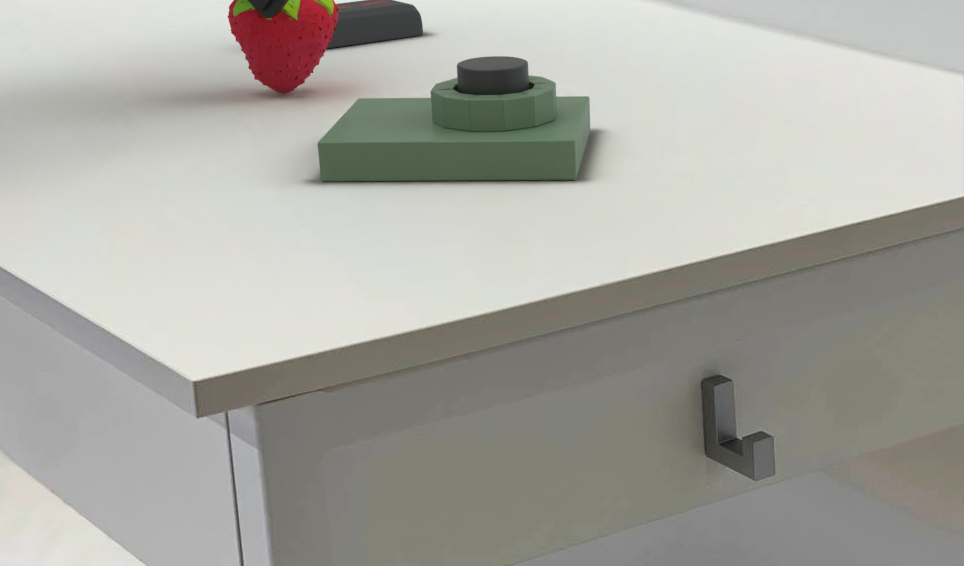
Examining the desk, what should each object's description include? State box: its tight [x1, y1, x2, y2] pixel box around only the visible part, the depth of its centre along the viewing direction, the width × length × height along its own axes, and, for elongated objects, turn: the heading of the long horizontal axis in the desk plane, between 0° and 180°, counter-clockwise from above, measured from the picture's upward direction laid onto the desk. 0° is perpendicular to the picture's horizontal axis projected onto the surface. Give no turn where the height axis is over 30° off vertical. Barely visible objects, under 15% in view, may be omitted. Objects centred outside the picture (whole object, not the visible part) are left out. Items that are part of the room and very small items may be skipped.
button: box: [456, 55, 529, 95], centre depth 91 cm, size 4×4×2 cm
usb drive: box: [326, 0, 424, 49], centre depth 128 cm, size 5×12×3 cm, turn 127°
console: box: [317, 75, 591, 182], centre depth 92 cm, size 14×11×4 cm
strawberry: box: [227, 0, 339, 94], centre depth 108 cm, size 6×7×10 cm
